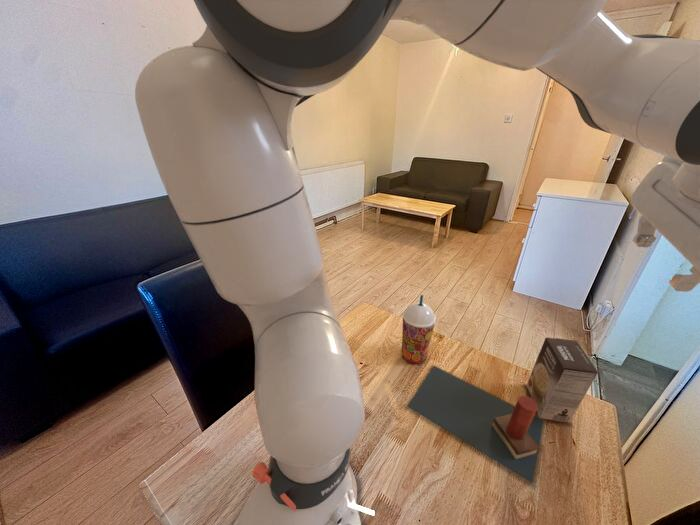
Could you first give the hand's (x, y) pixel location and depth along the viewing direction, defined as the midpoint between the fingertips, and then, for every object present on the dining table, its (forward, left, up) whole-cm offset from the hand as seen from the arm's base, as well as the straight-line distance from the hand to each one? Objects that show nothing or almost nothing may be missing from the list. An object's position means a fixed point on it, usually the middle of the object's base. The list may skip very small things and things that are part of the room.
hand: (657, 264), depth 42 cm
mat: (-8, +17, -40) cm, 44 cm away
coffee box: (+5, +4, -40) cm, 41 cm away
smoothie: (0, +35, -40) cm, 53 cm away
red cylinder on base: (-9, +9, -39) cm, 41 cm away
